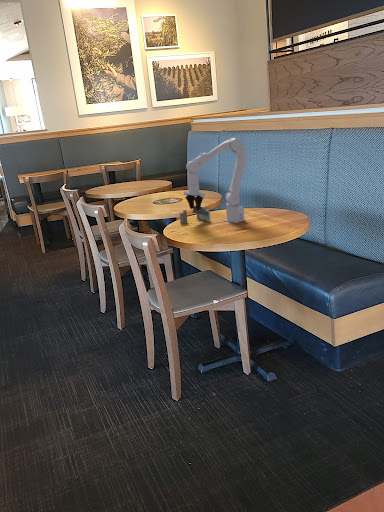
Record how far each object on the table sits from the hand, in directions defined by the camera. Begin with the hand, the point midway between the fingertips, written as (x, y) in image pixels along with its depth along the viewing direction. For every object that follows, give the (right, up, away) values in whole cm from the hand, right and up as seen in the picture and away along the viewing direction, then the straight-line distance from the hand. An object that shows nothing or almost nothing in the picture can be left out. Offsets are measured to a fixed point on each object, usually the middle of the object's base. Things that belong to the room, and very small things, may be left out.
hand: (195, 209), depth 243 cm
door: (+5, -5, +9) cm, 12 cm away
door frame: (0, -5, +12) cm, 13 cm away
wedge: (+3, -2, +3) cm, 5 cm away
